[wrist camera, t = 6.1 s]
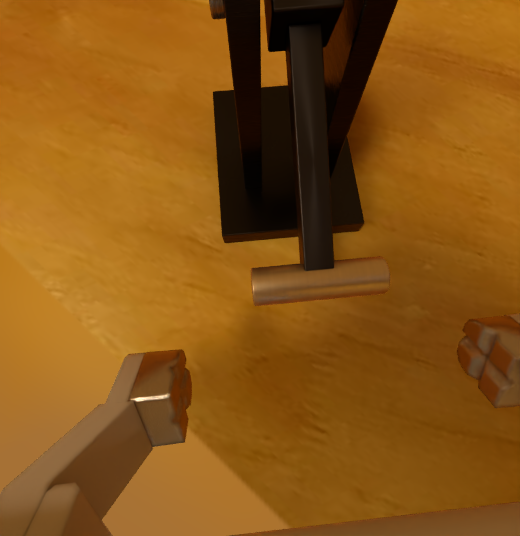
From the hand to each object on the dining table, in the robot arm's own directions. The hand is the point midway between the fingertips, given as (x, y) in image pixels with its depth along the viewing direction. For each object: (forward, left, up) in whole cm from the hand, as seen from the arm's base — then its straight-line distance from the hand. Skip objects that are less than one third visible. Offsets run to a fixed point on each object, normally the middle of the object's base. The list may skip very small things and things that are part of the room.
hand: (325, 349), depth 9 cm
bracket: (+3, +11, -8) cm, 14 cm away
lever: (+2, +8, -1) cm, 8 cm away
